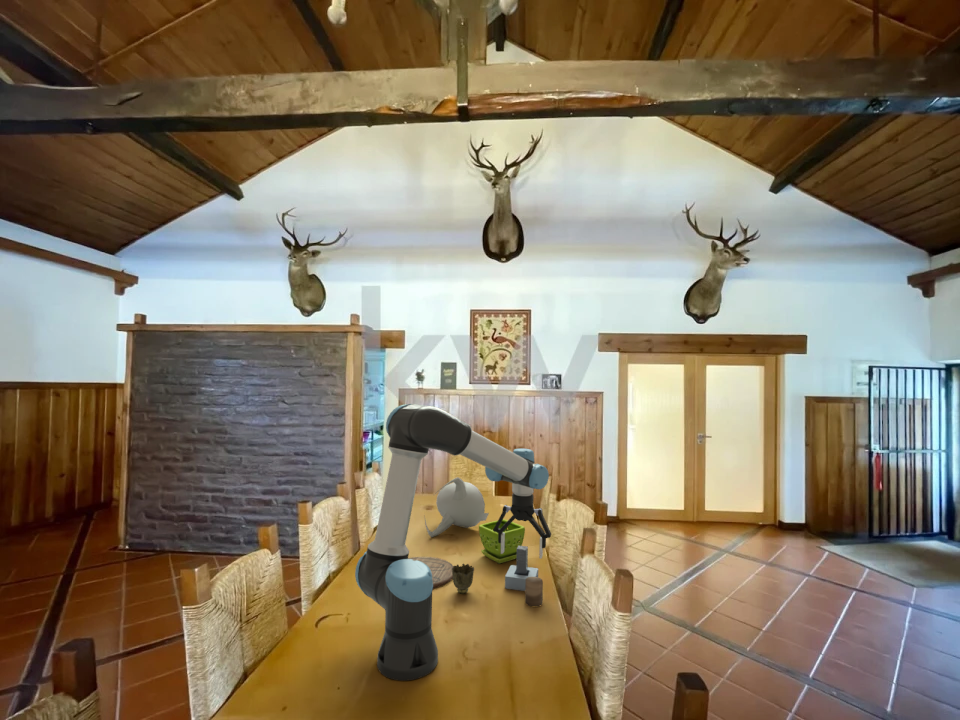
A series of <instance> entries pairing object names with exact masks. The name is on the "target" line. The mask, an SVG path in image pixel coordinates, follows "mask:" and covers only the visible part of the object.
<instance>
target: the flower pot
mask: <svg viewBox="0 0 960 720" xmlns="http://www.w3.org/2000/svg"><path fill="white" fill-rule="evenodd" d="M498 520H499V519H498ZM498 520H494V521H490V522H486V523H481V524H479V525H478V531H479V537H480V542H481V545H482V546H483V548H484V549H482V550H481V553H482V554H483V555H484V557H487V558H488V559H490V560H491V561H494V562H495V563H497V564H498V565H500V564H502V563H507V562H509V561H513V560H516V557H517V547H518V546H523V543H524V539H525V533H526V527H525V526H523V525H522V524H519V523H516V522H514V521H512V522H511V523H510V525H509V526H508V527H507V528H506V529H505V530H504V531H503V533H505V547H504V553H503V554H501V543H499V542H498V533H497V532H494V531H493V529H494V527H495V525H496V523H497V521H498ZM508 520H509V519H504V518H503V520H502V522H501V524H500V526H499V528H500V529H501V528H502V527H503V525H504V524H505V523H506V522H507V521H508Z"/></svg>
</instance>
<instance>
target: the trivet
mask: <svg viewBox="0 0 960 720" xmlns="http://www.w3.org/2000/svg"><path fill="white" fill-rule="evenodd" d="M408 559H413V561H416V560H418V561H421V562H423V563H424V564H426V565H427V566H428V567H429V568H430V570H431V573H432V581H433V589H435V588H439V587H442V586H444V585H446V584H448V583H450V582H451V581H453V575H452V568H453V566H454V565H453V564H452V563H451V562H450V561H447V560H446V559H442V558H439V557H432V556H412V557H408Z"/></svg>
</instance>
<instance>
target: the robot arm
mask: <svg viewBox="0 0 960 720" xmlns="http://www.w3.org/2000/svg"><path fill="white" fill-rule="evenodd" d="M385 430H386V433H387V435H388V437H389V441H388V446H387V447H388V449H389V451H390V453H391V458H390V463H389V467H388V473H387V479H386V484H385V488H384V492H383V497H382V502H381V508H380V512H379V513H380V514H379V518H378V522H377V527H376V532H375V537H374V540H373V541H371V542H369V543H368V545H367V548H366V551H365V552H364V553H363V555H362V556H360V557H359V559H358V561H357V564H356V567H355V571H354V574H355V582H356V583H357V585H358V587H359V589H360V590H361V592H363V594H364V595H365V596H366V597H368V598H371V600H373V601H374V602H375V603H377V605H379V606H380V607H381V608H382V609H384V611H385V615H384V616H385V621H384V626H385V627H384V634H383V637H382V640H381V643H380V645H379V649H378V652H377V657H376V658H377V661H376V664H377V665H376V666H377V667H376V668H377V669H378V671H379V672H380V674H381V675H383V676H384V677H385V678H388V679H391V680H394V681H403V682H404V681H412V680H417V679H419V678H423V677H425V676H427V675H429V674H430V673H432V671H434V670H435V668H436V667H437V665H438V661H439V660H438V659H439V649H438V646H437V641H436V639H435V636H434V633H433V628H432V624H433V623H432V621H433V618H432V615H433V590H434V588H433V581H432V573H431V570H430V568H429V567H428V566H427V565H426V564H424V563H423V562H421V561H418V560H416V561H413V559H408V558H409V554H410V550H409V548H408V547H407V545H406V541H407V536H408V533H409V527H410V520H411V516H412V510H413V506H414V505H413V504H414V500H415V495H416V489H417V485H418V480H419V479H418V478H419V474H420V470H421V469H420V468H421V465H422V464H421V463H422V460H423V459H424V458H425V457H427V455H429V449H430V450H431V449H432V450H436V451H441V452H443V453H447V454H448V455H449V454H450V455H452V456H462V457H465V458H466V459H468V460H470V461H473V462H474V463H477V464H479V465H481V466H484V471H485V476H486V477H487V479H488V480H489V481H491V482H500V481H503V482H507V483H512V484H511V491H512V494H511V506H510V505H507V504H504V505H503V506H502V511H501V514H500V516H499V518H498V521H497V520H496V521H497V523H496V525H495V527H494V529H492V530H493V531H494V532H497V533H498V542H499V543H501V554H503V553H504V547H505V533H503V531H504V530H505V529H506V528H507V527H508V526H509V525H510V523H511V522H514V521H515V520H517V521H518V522H519V521H523V522H528V523H530V524H531V526H532V527H533V528H534V529H535V531H536V532H537V533H538V535H539V536H540V538H539V554H538V555H539V556H538V558H539V559H541V560H542V558H543V555H544V554H543V553H544V552H543V549H546V546H547V541H546V540H547V539H550V538H551V537H552V532H551V530H550V527H549V526H548V523H547V521H546V519H545V516H544V513H543V508H541V507H539V508H534V490H535V489H536V490H542V489H543V488H545V487H546V486H547V484H548V481H549V479H550V478H549V476H550V474H549V470H548V468H547V467H546V466H545V465H542V464H539V463H535V451H534V450H532V449H530V448H529V449H528V448H515V449H513V451H512V450H509V449H508V448H505V447H504V446H502V445H500V444H498V443H496V442H494V441H493V440H491V439H489V438H487V437H485V436H483V435H482V434H479V433H478V432H476V431H474V430H473V429H472V427H471V425H470V424H469V423H467V422H465V421H464V420H462V419H460V418H459V417H456V416H455V415H453V414H451V413H449V412H448V411H446V410H444V409H442V408H439V407H437V406H433V405H424V404H423V405H422V404H417V403H408V404H407V403H406V404H400V405H399V406H397V407H395V408H394V409H392V411H391V412H390V413H389V415H387V419H386V422H385ZM509 511H510V512H511V514H512V516H510V517H509V519H507V520H508V521H507V522H506V523H505V524H504V525H503V527H502V528H501V529H500V528H499V526H500V524H501V522H502V520H503V519H504V518H505V516H506V514H508V512H509ZM534 514H536V516H538V519H539V521H540V523H541V526H542V527H541V526H540V525H539V523H538V521H536V519H535V517H534ZM542 528H543V529H542ZM507 529H508V528H507Z"/></svg>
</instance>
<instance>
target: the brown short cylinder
mask: <svg viewBox="0 0 960 720" xmlns="http://www.w3.org/2000/svg"><path fill="white" fill-rule="evenodd" d="M543 582H544V581H543V579H542V578H541V577H539V576H538V577H528V578H526V583H525V591H524V592H525V593H524V594H525V597H524V599H525V600H524V602H525V604H526V605H527V606H529V607H532V606H538V607H540V605H541V606H542V605H543V604H544V603H543V602H544V601H543V594H544V593H543V590H544V589H543V587H544V586H543Z"/></svg>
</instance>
